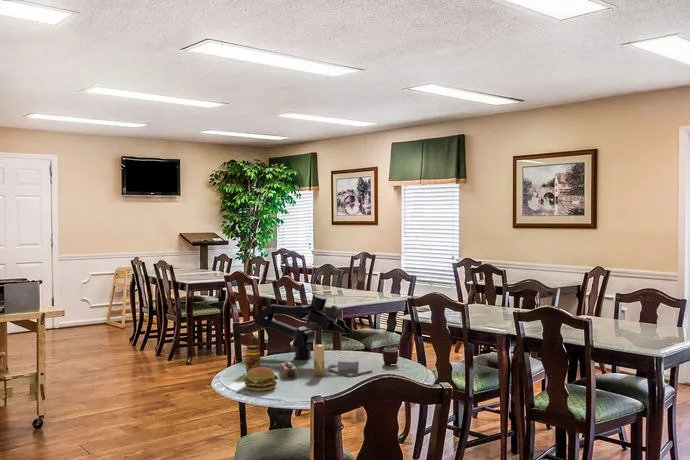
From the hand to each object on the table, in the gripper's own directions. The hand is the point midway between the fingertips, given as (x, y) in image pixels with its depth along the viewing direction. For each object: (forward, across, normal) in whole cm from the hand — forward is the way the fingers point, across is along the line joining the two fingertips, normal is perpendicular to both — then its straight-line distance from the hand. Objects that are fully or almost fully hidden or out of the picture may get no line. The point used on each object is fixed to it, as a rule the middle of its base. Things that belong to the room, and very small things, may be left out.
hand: (348, 331), depth 296 cm
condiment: (-22, -28, +31) cm, 47 cm away
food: (-6, -46, +30) cm, 55 cm away
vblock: (+10, -7, +15) cm, 20 cm away
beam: (-8, -24, +25) cm, 36 cm away
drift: (-9, -25, +21) cm, 34 cm away
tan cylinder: (+4, -20, +20) cm, 28 cm away
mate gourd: (+20, +12, +7) cm, 24 cm away
